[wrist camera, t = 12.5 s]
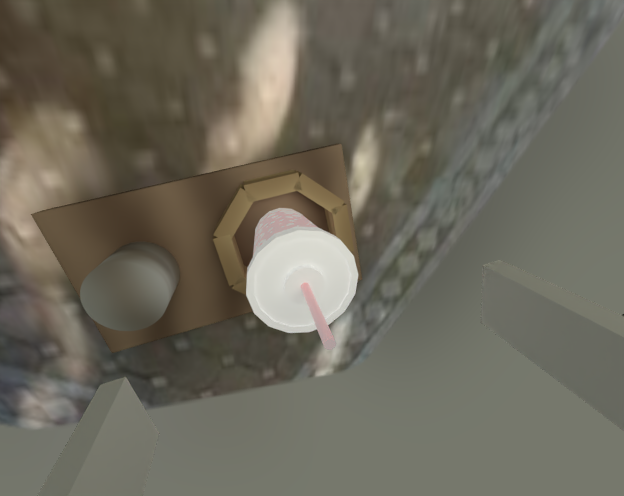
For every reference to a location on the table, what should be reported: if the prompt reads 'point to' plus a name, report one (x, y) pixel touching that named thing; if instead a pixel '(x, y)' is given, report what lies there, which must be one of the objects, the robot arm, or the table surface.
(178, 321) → the fitting board
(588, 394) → the robot arm
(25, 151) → the table surface
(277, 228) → the beverage cup
